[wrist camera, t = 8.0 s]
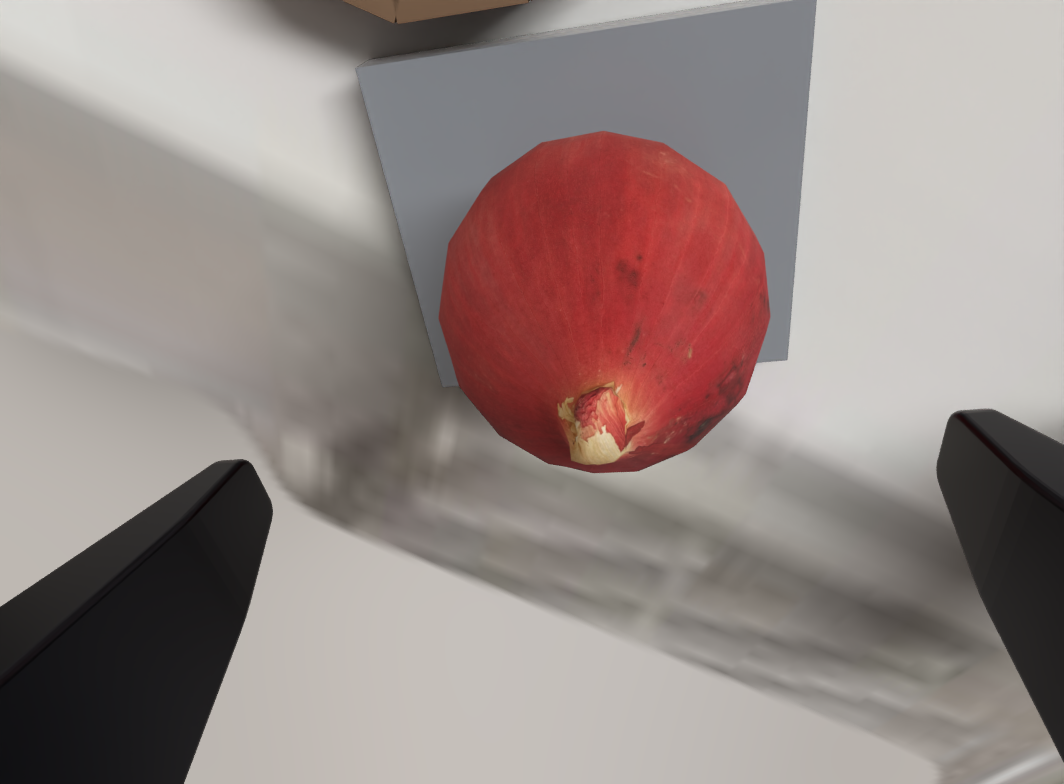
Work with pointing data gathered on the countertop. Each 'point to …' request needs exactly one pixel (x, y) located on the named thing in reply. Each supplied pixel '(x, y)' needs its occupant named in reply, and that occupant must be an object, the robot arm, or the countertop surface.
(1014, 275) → the countertop surface
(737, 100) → the slate tile
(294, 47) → the countertop surface
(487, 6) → the ring
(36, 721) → the robot arm
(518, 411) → the onion
